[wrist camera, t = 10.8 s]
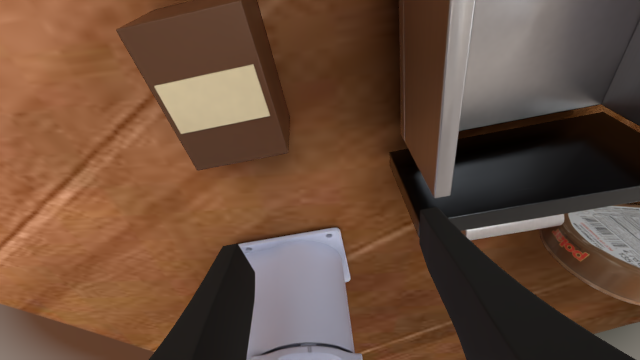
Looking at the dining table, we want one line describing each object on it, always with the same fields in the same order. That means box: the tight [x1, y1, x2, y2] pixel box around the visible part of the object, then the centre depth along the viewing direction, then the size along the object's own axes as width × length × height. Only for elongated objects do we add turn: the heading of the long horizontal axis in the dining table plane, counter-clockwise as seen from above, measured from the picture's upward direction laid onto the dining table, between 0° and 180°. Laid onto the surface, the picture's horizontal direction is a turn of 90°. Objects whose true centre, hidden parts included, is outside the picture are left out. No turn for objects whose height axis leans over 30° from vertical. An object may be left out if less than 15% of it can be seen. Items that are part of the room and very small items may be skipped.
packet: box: [116, 0, 290, 170], centre depth 15 cm, size 5×7×4 cm
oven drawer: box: [389, 0, 640, 240], centre depth 14 cm, size 18×13×6 cm
